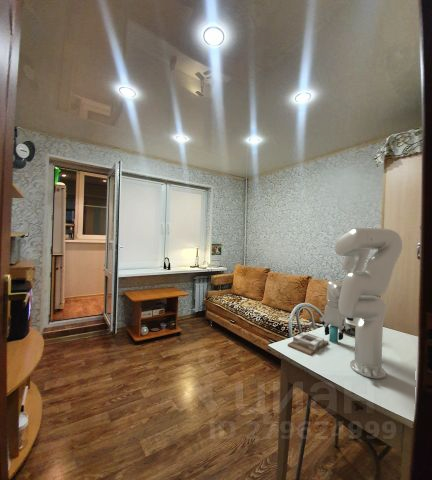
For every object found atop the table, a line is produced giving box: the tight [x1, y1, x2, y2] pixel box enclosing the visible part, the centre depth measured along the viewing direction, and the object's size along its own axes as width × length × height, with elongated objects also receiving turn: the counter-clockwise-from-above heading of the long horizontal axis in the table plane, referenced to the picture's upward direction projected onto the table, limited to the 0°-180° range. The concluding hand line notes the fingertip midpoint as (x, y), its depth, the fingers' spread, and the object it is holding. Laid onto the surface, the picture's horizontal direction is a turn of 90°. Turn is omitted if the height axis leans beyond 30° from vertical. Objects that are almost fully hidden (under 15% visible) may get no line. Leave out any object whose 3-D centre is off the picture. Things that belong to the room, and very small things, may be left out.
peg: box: [328, 324, 339, 344], centre depth 121 cm, size 4×4×8 cm
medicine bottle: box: [343, 317, 359, 338], centre depth 131 cm, size 7×7×12 cm
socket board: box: [287, 331, 329, 356], centre depth 117 cm, size 20×12×4 cm, turn 131°
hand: (333, 336), depth 121 cm, fingers open, 6 cm apart
